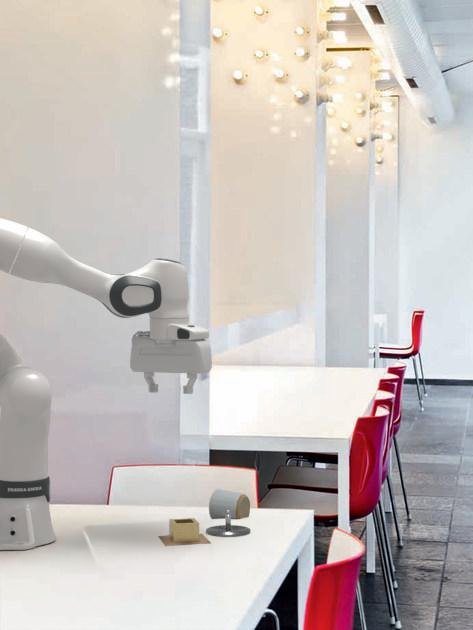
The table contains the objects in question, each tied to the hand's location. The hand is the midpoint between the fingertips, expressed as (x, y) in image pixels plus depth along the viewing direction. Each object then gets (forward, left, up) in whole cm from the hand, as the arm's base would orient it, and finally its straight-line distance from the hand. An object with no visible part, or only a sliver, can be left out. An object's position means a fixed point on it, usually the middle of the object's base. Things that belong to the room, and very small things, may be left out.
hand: (170, 393), depth 248 cm
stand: (+2, -7, -33) cm, 34 cm away
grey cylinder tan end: (+18, +17, -33) cm, 42 cm away
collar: (+2, -7, -32) cm, 32 cm away
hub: (+13, -2, -33) cm, 35 cm away
